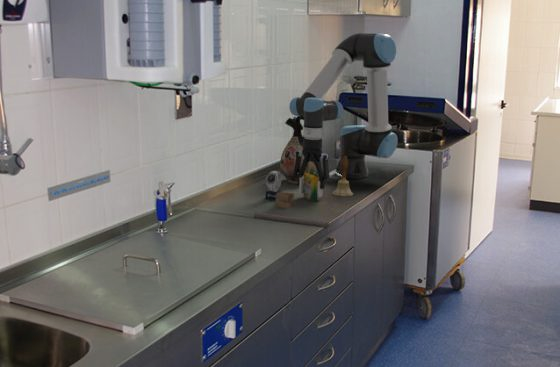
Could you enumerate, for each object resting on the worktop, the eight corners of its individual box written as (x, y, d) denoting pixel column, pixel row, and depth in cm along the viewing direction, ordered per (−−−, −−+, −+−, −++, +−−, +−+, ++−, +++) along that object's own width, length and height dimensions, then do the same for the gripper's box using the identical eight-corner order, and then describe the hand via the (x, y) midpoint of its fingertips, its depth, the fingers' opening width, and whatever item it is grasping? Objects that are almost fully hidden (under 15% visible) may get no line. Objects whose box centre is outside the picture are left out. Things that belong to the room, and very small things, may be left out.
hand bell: (341, 190, 277) (343, 153, 273) (357, 194, 271) (359, 156, 268) (328, 193, 271) (330, 155, 268) (344, 197, 266) (345, 158, 262)
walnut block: (282, 203, 255) (282, 191, 253) (293, 206, 252) (294, 193, 251) (275, 206, 250) (275, 193, 249) (286, 208, 248) (287, 196, 247)
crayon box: (302, 196, 265) (303, 168, 262) (309, 196, 266) (310, 168, 263) (311, 201, 259) (312, 172, 256) (317, 200, 260) (319, 172, 257)
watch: (263, 199, 259) (263, 172, 257) (272, 195, 266) (272, 168, 264) (275, 201, 257) (276, 174, 254) (284, 197, 264) (285, 170, 261)
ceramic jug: (272, 181, 289) (273, 113, 282) (294, 176, 301) (296, 110, 294) (302, 188, 279) (304, 117, 272) (324, 182, 290) (327, 114, 283)
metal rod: (256, 216, 238) (256, 211, 237) (328, 226, 228) (328, 221, 228) (254, 218, 236) (254, 212, 235) (327, 228, 227) (327, 222, 226)
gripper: (285, 136, 258) (283, 193, 264) (331, 142, 248) (329, 200, 254) (294, 133, 265) (293, 189, 270) (340, 139, 255) (337, 196, 260)
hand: (310, 194), depth 262 cm, fingers closed on crayon box, 7 cm apart
